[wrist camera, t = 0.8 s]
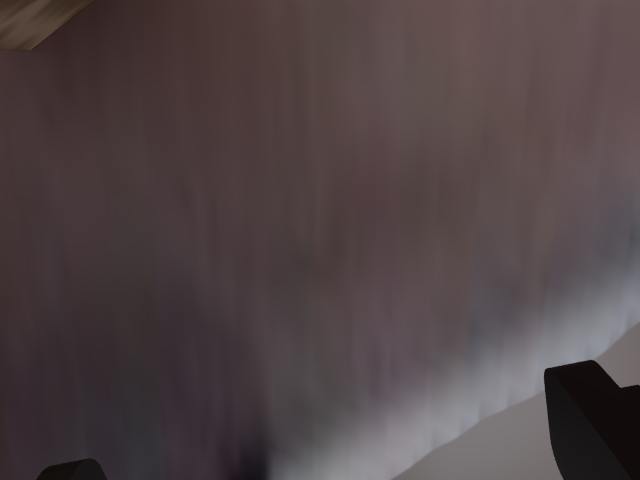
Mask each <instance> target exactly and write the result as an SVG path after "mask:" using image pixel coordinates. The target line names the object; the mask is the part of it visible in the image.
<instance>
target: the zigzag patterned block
mask: <svg viewBox="0 0 640 480" xmlns="http://www.w3.org/2000/svg"><path fill="white" fill-rule="evenodd" d="M93 1H94V0H0V50H32V49H33V48H34V47H35V46H37V45H38V44H39V43H40V42H42V41H43V40H44V39H46V38H47V37H48V36H49V35H51V34H52V33H53V32H55V31H56V30H57V29H58V28H60V27H61V26H62V25H63V24H65V23H66V22H67V21H69V20H70V19H71V18H72V17H74V16H75V15H76V14H78V13H79V12H80V11H81V10H83V9H84V8H85V7H86V6H88V5H89V4H90V3H92V2H93Z"/></svg>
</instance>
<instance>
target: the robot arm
mask: <svg viewBox="0 0 640 480" xmlns="http://www.w3.org/2000/svg"><path fill="white" fill-rule="evenodd" d="M544 384H545V393H546V403H547V411H548V422H549V431H550V440H551V446H552V450H553V453H554V457H555V460H556V463H557V466H558V468H559V471H560V473H561V475H562V477H563V479H564V480H640V386H639V385H634V386H629V387H623V388H620V387H619V386H618V385H617V384H616V383H615V382H614V381H613V379H612V378H611V377H610V376H609V375H608V374H607V373H606V372H605V371H604V369H603V368H602V367H601V366H600V365H599V364H598V363H597V362H595V361H593V360H588V361H583V362H577V363H572V364H567V365H562V366H557V367H552V368H547V369H545V372H544ZM36 480H107V478H106V476H105V474H104V472H103V470H102V468H101V466H100V465H99V463H98V462H97V461H96V460H94V459H84V460H78V461H73V462H68V463H63V464H58V465H52V466H49V467H47V468H45V469H44V470H43V471H42V472H41V474H40V475H39V476H38V478H37V479H36Z"/></svg>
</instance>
